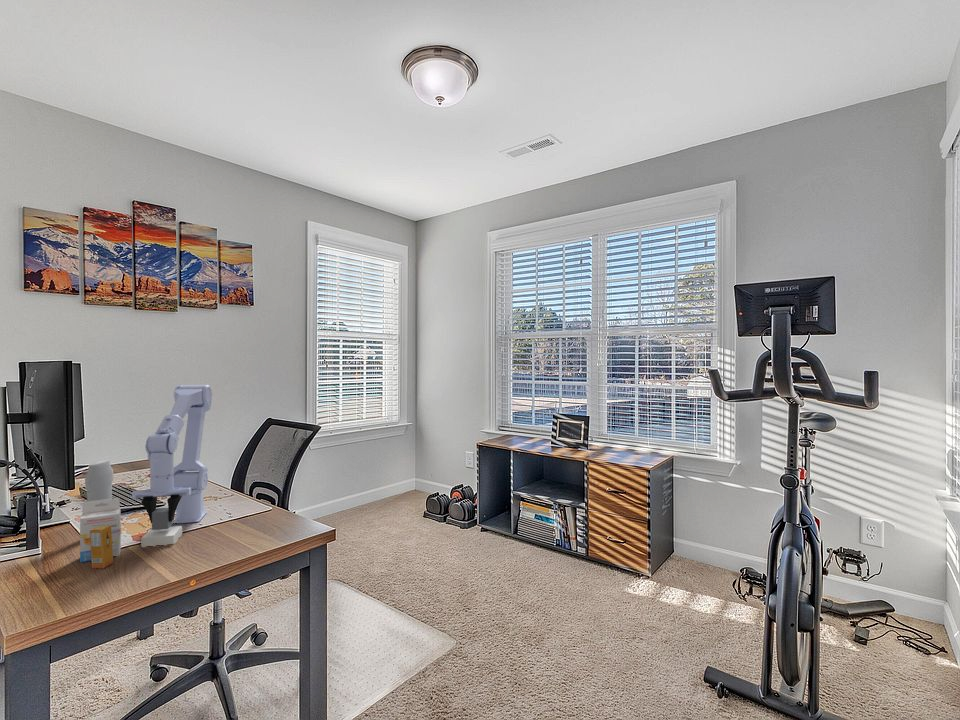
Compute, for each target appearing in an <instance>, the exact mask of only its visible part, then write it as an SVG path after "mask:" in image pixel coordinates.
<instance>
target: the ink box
mask: <svg viewBox="0 0 960 720" xmlns="http://www.w3.org/2000/svg"><path fill="white" fill-rule="evenodd" d="M100 503H103V504H105V503H107V504H108V505H107V506H99V507H95V505H98V504H100ZM120 504H121V499H120V497H114V498H113V497H112V499H103V500H96V501H88V502H87V501H83V502H82V514H81V516H80V519H79V561H80V562H79V563H85V562H92V561H91V543H90V530H92V529H94V528H96V527H99V526H111V532H112V552H113V556H116V557H120V556H121V549H122V548H121V547H122V545H121V543H122V542H121V540H122V539H121V536H122V535H121V532H122V531H121V530H122V529H121V526H122V525H121V524H122V523H121V519H122V518H121V514H122V513H121V512H122V511H121V507H120V506H121V505H120Z"/></svg>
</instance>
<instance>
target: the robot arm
mask: <svg viewBox="0 0 960 720" xmlns="http://www.w3.org/2000/svg"><path fill="white" fill-rule="evenodd" d="M212 399H213V392H212V388H211V386H210V385H209V384H178V385H176V387H175V388H174V391H173V400H174V404H173V406H172V408H171V412H170V414H168V415H165V416H164V417H163V419H162V420H161V423H160V424H159V426H158V428H157V429H156V431H155V432H154V433H153V434H151V435H149V436H148V437H147V438H146V442H145V451H146V454H147V460H148V461H149V476H150V477H149V482H150V483H149V488H148V489H141V490H133V491H132V492H131V499H132V500H137V499H142V500H141V505H142V506H143V507H144V509H145V510H146V513H147V515H148V517H149V521H150V524H152V512H153V511H155V510H156V509H157V500H158V498H163V497H166V498H167V497H168V498H167V499H166V500H167V506H168V507H167V508H169V522H172V521H173V523H174V524H175V523H177V524H186V523H187V524H189V523H196V522H197V523H198V522H200V521H201V520H203V518H204V517H205V516H206V515H207V514H208V511H207V510H204V509H205V507H204V505H205V502H204V498H205V497H204V496H205V495H204V493H203V491H205V489H206V488H207V486H208V483H209V482H208V481H209V476H208V468H207V466H205V464H203V463H202V462H201V461H200V458H201V457H200V456H201V449H202V440H203V432H204V422H205V417H206V413H207V412H208V411H210V410H211V407H212ZM186 414H187V421H186V429H185V435H184V444H183V451H182V453H183V454H182V460H181V462H180V463H178V464H177V465H175V466H174V464H175V463H174V453H175V452H176V450H177V448H178V443H179V442H178V441H179V435H180V433H181V431H182V430H183V427H184V425H185V421H184V419H183V418H185V416H186ZM175 525H176V524H175Z"/></svg>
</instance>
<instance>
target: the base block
mask: <svg viewBox="0 0 960 720" xmlns="http://www.w3.org/2000/svg"><path fill="white" fill-rule="evenodd" d="M181 536H183V525H174V526H170V527H169V528H168V529H160V530H152V527H151V528H150V529H149V530H148V531H147V532H146V533H145V534H144V535H143V536H142V537H141V539H140V541H141V542H140V543H141V545H140V546H141V547H142V548H145V547H144V546H153V547H155V546H154V545H164V546H168V545H167V544H174V543H175V544H176V543H177V541H178V540H179V539H180V538H181ZM179 537H180V538H179ZM178 538H179V539H178ZM175 544H174V545H175Z"/></svg>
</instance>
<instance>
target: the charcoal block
mask: <svg viewBox="0 0 960 720" xmlns="http://www.w3.org/2000/svg"><path fill="white" fill-rule="evenodd" d="M173 521H174V520H173ZM173 521H172V522H169V508H168V507H159V508H157V507H156V510H155V511H153V512H152V523H151V528H152V530H160V529H168V528H169V527H172V525H173Z"/></svg>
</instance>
